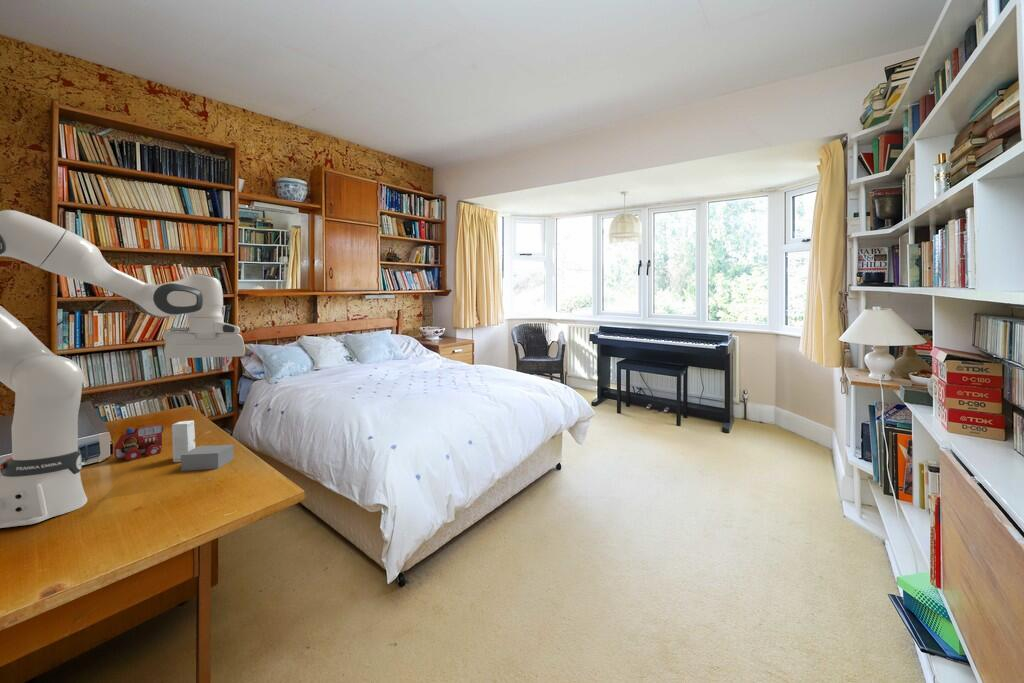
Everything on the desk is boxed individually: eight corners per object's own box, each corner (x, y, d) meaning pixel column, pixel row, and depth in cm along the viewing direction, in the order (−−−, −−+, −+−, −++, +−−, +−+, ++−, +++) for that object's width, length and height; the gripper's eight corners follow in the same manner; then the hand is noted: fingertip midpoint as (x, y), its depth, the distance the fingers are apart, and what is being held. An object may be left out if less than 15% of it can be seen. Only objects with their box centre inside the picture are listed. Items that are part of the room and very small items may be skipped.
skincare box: (188, 461, 135) (188, 423, 135) (171, 462, 133) (171, 424, 133) (196, 456, 141) (195, 419, 140) (180, 457, 139) (179, 420, 139)
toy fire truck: (111, 460, 136) (110, 428, 136) (159, 451, 146) (159, 421, 146) (117, 464, 132) (117, 431, 132) (166, 455, 142) (166, 424, 142)
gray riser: (181, 471, 126) (180, 454, 126) (199, 461, 136) (199, 446, 136) (218, 469, 128) (218, 453, 128) (233, 459, 137) (233, 444, 137)
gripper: (161, 327, 123) (162, 374, 123) (244, 327, 133) (245, 371, 134) (165, 327, 128) (165, 372, 128) (244, 327, 139) (245, 369, 139)
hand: (207, 372), depth 131 cm, fingers open, 8 cm apart
